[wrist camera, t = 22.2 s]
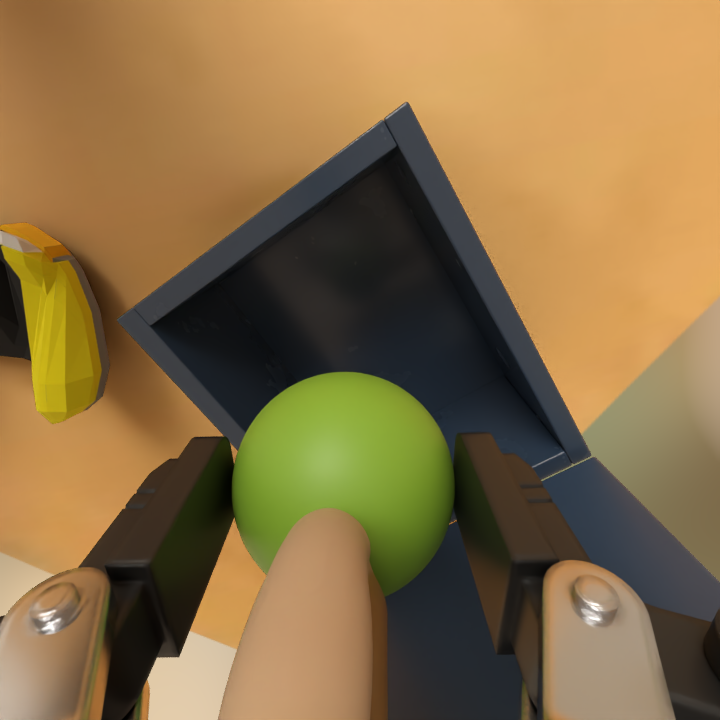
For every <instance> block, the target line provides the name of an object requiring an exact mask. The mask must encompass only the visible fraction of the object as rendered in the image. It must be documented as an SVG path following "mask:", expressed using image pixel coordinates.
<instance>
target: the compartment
mask: <svg viewBox="0 0 720 720" xmlns="http://www.w3.org/2000/svg"><path fill="white" fill-rule="evenodd" d="M117 321H118V323H119V324H120V325H121V326H122V327H123V328H124V329H125V330H126V331H127V332H128V333H129V334H130V335H131V336H132V338H133V339H134V340H135V341H136V342H137V343H138V344H139V345H140V346H141V347H142V348H143V349H144V350H145V351H146V353H147V354H148V355H149V356H150V357H151V358H152V359H153V360H154V361H155V362H156V363H157V364H158V365H159V367H160V368H161V369H162V370H163V371H164V372H165V373H166V374H167V375H168V376H169V377H170V378H171V379H172V380H173V382H174V383H175V384H176V385H177V386H178V387H179V388H180V389H181V390H182V391H183V392H184V393H185V394H186V395H187V397H188V398H189V399H190V400H191V401H192V402H193V403H194V404H195V405H196V406H197V407H198V408H199V409H200V410H201V412H202V413H203V414H204V415H205V416H206V417H207V418H208V419H209V420H210V421H211V422H212V423H213V424H214V426H215V427H216V428H217V429H218V430H219V431H220V432H221V433H222V434H223V435H224V436H226V437H227V438H228V439H229V442H230V443H231V444H232V445H233V446H234V447H235V448H236V449H237V450H239V447H240V444H241V442H242V440H243V438H244V436H245V434H246V432H247V430H248V428H249V427H250V425H251V423H252V422H253V420H254V419H255V418H256V416H257V415H258V414H259V413H260V411H261V410H262V409H263V408H264V407H265V406H266V405H267V404H268V403H269V402H270V401H271V400H272V399H273V398H275V397H276V396H277V395H278V394H280V393H281V392H282V391H284V390H285V389H287V388H289V387H290V386H292V385H294V384H296V383H298V382H300V381H302V380H305V379H307V378H310V377H313V376H317V375H321V374H326V373H333V372H357V373H363V374H368V375H372V376H376V377H379V378H382V379H384V380H387V381H389V382H391V383H393V384H395V385H397V386H399V387H400V388H402V389H403V390H405V391H406V392H408V393H409V394H411V395H412V396H413V397H414V398H415V399H416V400H418V401H419V402H420V403H421V404H422V405H423V406H424V407H425V409H426V410H427V411H428V412H429V413H430V415H431V416H432V417H433V419H434V420H435V422H436V423H437V425H438V426H439V428H440V430H441V432H442V434H443V436H444V438H445V440H446V443H447V445H448V448H449V451H450V455H451V458H452V463H453V461H454V449H455V439H456V435H457V433H469V432H489V433H491V435H492V436H493V438H494V440H495V442H496V443H497V445H498V447H499V449H500V451H501V453H515V454H516V455H517V456H519V457H520V458H521V459H522V460H524V461H525V462H526V463H527V464H529V465H530V466H531V467H532V468H533V469H534V471H535V472H536V474H537V476H538V477H539V479H540V480H541V479H544V478H546V477H548V476H550V475H552V474H554V473H556V472H559V471H560V470H563V469H565V468H567V467H569V466H571V465H572V464H575V463H577V462H580V461H582V460H584V459H586V458H588V457H590V456H591V453H590V451H589V449H588V447H587V445H586V443H585V441H584V439H583V437H582V435H581V433H580V432H579V430H578V428H577V426H576V424H575V422H574V420H573V418H572V416H571V414H570V412H569V410H568V408H567V407H566V405H565V403H564V401H563V399H562V397H561V395H560V393H559V391H558V389H557V387H556V385H555V383H554V382H553V380H552V378H551V376H550V374H549V372H548V370H547V368H546V366H545V364H544V362H543V360H542V358H541V357H540V355H539V353H538V351H537V349H536V347H535V345H534V343H533V341H532V339H531V337H530V335H529V333H528V332H527V330H526V328H525V326H524V324H523V322H522V320H521V318H520V316H519V314H518V312H517V310H516V308H515V307H514V305H513V303H512V301H511V299H510V297H509V295H508V293H507V291H506V289H505V287H504V285H503V283H502V282H501V280H500V278H499V276H498V274H497V272H496V270H495V268H494V266H493V264H492V262H491V260H490V258H489V257H488V255H487V253H486V251H485V249H484V247H483V245H482V243H481V241H480V239H479V237H478V235H477V233H476V231H475V230H474V228H473V226H472V224H471V222H470V220H469V218H468V216H467V214H466V212H465V210H464V208H463V206H462V205H461V203H460V201H459V199H458V197H457V195H456V193H455V191H454V189H453V187H452V185H451V183H450V181H449V180H448V178H447V176H446V174H445V172H444V170H443V168H442V166H441V164H440V162H439V160H438V158H437V156H436V155H435V153H434V151H433V149H432V147H431V145H430V143H429V141H428V139H427V137H426V135H425V133H424V131H423V130H422V128H421V126H420V124H419V122H418V120H417V118H416V116H415V114H414V112H413V110H412V108H411V106H410V105H409V103H408V102H405V103H403V104H402V105H401V106H400V107H398V108H397V109H396V110H394V111H393V112H392V113H390V114H389V115H388V116H386V117H385V119H384V121H383V120H381V121H379V122H378V123H377V124H375V125H374V126H373V127H371V128H370V129H369V130H367V131H366V132H365V133H363V134H362V135H361V136H359V137H358V138H357V139H355V140H354V141H353V142H352V143H350V144H349V145H348V146H346V147H345V148H344V149H342V150H341V151H340V152H338V153H337V154H336V155H334V156H333V157H332V158H330V159H329V160H328V161H326V162H325V163H324V164H322V165H321V166H320V167H318V168H317V169H316V170H314V171H313V172H312V173H310V174H309V175H308V176H306V177H305V178H304V179H302V180H301V181H300V182H298V183H297V184H296V185H294V186H293V187H292V188H290V189H289V190H288V191H286V192H285V193H284V194H282V195H281V196H280V197H278V198H277V199H276V200H275V201H273V202H272V203H271V204H269V205H268V206H267V207H265V208H264V209H263V210H261V211H260V212H259V213H257V214H256V215H255V216H253V217H252V218H251V219H249V220H248V221H247V222H245V223H244V224H243V225H241V226H240V227H239V228H237V229H236V230H235V231H233V232H232V233H231V234H229V235H228V236H227V237H225V238H224V239H223V240H221V241H220V242H219V243H217V244H216V245H215V246H213V247H212V248H211V249H209V250H208V251H207V252H205V253H204V254H203V255H201V256H200V257H199V258H197V259H196V260H195V261H194V262H192V263H191V264H190V265H188V266H187V267H186V268H184V269H183V270H182V271H180V272H179V273H178V274H176V275H175V276H174V277H172V278H171V279H170V280H168V281H167V282H166V283H164V284H163V285H162V286H160V287H159V288H158V289H156V290H155V291H154V292H152V293H151V294H150V295H148V296H147V297H146V298H144V299H143V300H142V301H140V302H139V303H138V304H136V305H135V306H134V307H133V308H131V309H130V310H128V311H127V312H126V313H124V314H123V315H122V316H121V317H119V318H118V319H117ZM455 520H457V519H456V516H455V512H454V508H453V512H452V516H451V520H450V523H451V522H453V521H455Z"/></svg>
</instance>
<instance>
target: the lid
mask: <svg viewBox="0 0 720 720" xmlns="http://www.w3.org/2000/svg"><path fill="white" fill-rule="evenodd" d="M542 484H543V488H546V490H547V491H548V493H549V495H550V496H551V498H552V502H553V503H555V504H556V506H557V507H558V509H559V511H560V512H561V514H562V515H563V517H564V518H565V520H566V522H567V523H568V525H569V526H570V528H571V530H572V531H573V533H574V534H575V536H576V538H577V539H578V541H579V542H580V544H581V545H582V547H583V549H584V550H585V552H586V553H587V555H588V557H589V558H590V560H591V561H592V563H593V564H595V565H598V566H600V567H602V568H604V569H606V570H608V571H610V572H611V573H613V574H615V575H616V576H618V577H619V578H620V579H622V580H623V581H624V582H625V583H627V584H628V585H629V586H630V587H631V588H632V589H633V590H634V591H635V592H636V593H637V595H638V596H639V597H640V599H641V600H642V601H643V602H644V603H646V604H649V605H652V606H655V607H658V608H661V609H665V610H669V611H672V612H676V613H680V614H683V615H687V616H691V617H695V618H698V619H702V620H706V621H709V622H712V621H713V619H714V617H715V615H716V613H717V611H718V609H719V608H720V582H719V581H718V580H717V579H716V578H715V577H714V576H713V575H712V574H711V573H710V572H709V571H708V570H707V569H706V568H705V567H704V566H703V565H702V564H701V563H700V562H699V561H698V560H697V559H696V558H695V557H694V556H693V555H692V554H691V553H690V552H689V551H688V550H687V549H686V548H685V547H684V546H683V545H682V544H681V543H680V542H679V541H678V540H677V539H676V538H675V537H674V536H673V535H672V534H671V533H670V532H669V531H668V530H667V529H666V528H665V527H664V526H663V525H662V524H661V523H660V522H659V521H658V520H657V519H656V518H655V517H654V516H653V515H652V514H651V513H650V512H649V511H648V510H647V509H646V508H645V507H644V506H643V505H642V504H641V503H640V502H639V501H638V500H637V499H636V498H635V496H634V495H633V494H632V493H630V491H628V490H627V489H626V487H625V486H624V485H623V484H622V483H621V482H620V481H619V480H618V479H616V477H615V476H614V475H613V474H612V473H610V471H608V469H607V468H606V467H604V465H603V464H602V463H601V462H600V461H599V460H597V458H595V457H592V458H590V459H588V460H586V461H584V462H582V463H580V464H578V465H576V466H573V467H571V468H569V469H567V470H565V471H563V472H561V473H558V474H556V475H554V476H552V477H550V478H548V479H546V480H544V481H542ZM385 600H386V605H387V613H388V619H387V678H388V720H518V711H519V690H520V683H521V679H522V674H521V671H520V668H519V665H518V662H517V659H516V656H515V655H496V652H495V649H494V645H493V642H492V638H491V635H490V632H489V628H488V625H487V621H486V618H485V615H484V611H483V608H482V604H481V601H480V598H479V594H478V591H477V587H476V584H475V581H474V577H473V574H472V570H471V567H470V564H469V560H468V557H467V553H466V550H465V546H464V543H463V540H462V536H461V533H460V529H459V526H458V523H457V522H454V523H452V524H450V525H449V527H448V530H447V532H446V535H445V537H444V539H443V541H442V543H441V545H440V547H439V549H438V550H437V552H436V554H435V555H434V557H433V558H432V559H431V561H430V562H429V563H428V565H427V566H426V567H425V568H424V569H423V570H422V571H421V572H420V573H419V574H418V575H417V576H416V577H415V578H414V579H413V580H412V581H410V582H409V583H408V584H407V585H405V586H404V587H402V588H401V589H399V590H397V591H396V592H394V593H392V594H390V595H388V596H386V597H385Z"/></svg>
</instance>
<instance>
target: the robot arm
mask: <svg viewBox="0 0 720 720" xmlns="http://www.w3.org/2000/svg"><path fill="white" fill-rule="evenodd" d="M233 469H234V462H233V456H232V451H231V445H230V442H229V439H228V438H227V437H226V436H221V437H194V438H192V439H191V440H190V442H189V443H188V445H187V446H186V447H185V449H184V450H183V452H182V453H181V455H180V456H179V458H178V459H169V460H167V461H166V462H165V463H163V464H162V465H160V466H159V467H158V468H156V469H155V470H154V471H152V472H151V473H150V474H149V475H148V477H147V478H146V479H145V480H144V482H143V483H142V484H141V486H140V487H139V488H138V490H137V494H134V495H133V496H132V498H131V499H130V500H129V502H128V503H127V504H126V508H125V509H122V511H121V512H120V513H119V515H118V516H117V517H116V519H115V520H114V521H113V523H112V524H111V525H110V526H109V528H108V529H107V530H106V532H105V533H104V534H103V536H102V537H101V538H100V540H99V541H98V542H97V544H96V545H95V546H94V548H93V549H92V550H91V551H90V553H89V554H88V555H87V557H86V558H85V559H84V561H83V562H82V563H81V565H80V566H79V567H78V568H75V569H71V570H67V571H65V572H62V573H59V574H57V575H55V576H52V577H51V578H49V579H47V580H45V581H43V582H41V583H40V584H38V585H37V586H35V587H34V588H32V589H31V590H30V591H29V592H27V593H26V594H25V595H24V596H22V598H20V599H19V600H18V601H17V602H16V603H15V604H14V606H13V607H12V608H11V609H10V610H9V611H8V613H7V614H6V615H5V616H1V617H0V720H148V711H149V697H150V690H149V684H148V680H147V678H148V676H149V674H150V671H151V669H152V667H153V665H154V662H155V660H156V658H157V657H179V656H180V653H181V651H182V649H183V646H184V643H185V641H186V638H187V636H188V633H189V631H190V628H191V626H192V623H193V621H194V618H195V616H196V613H197V610H198V608H199V605H200V603H201V600H202V598H203V595H204V593H205V590H206V588H207V585H208V583H209V580H210V577H211V575H212V572H213V570H214V567H215V565H216V562H217V560H218V557H219V555H220V552H221V550H222V547H223V544H224V542H225V539H226V537H227V534H228V532H229V529H230V527H231V524H232V522H233V519H234V511H233V505H232V476H233ZM453 469H454V477H455V498H454V506H453V508H454V512H455V516H456V519H457V523H458V526H459V529H460V533H461V536H462V540H463V543H464V546H465V550H466V553H467V557H468V560H469V564H470V567H471V570H472V574H473V577H474V581H475V584H476V587H477V591H478V594H479V598H480V601H481V604H482V608H483V611H484V615H485V618H486V621H487V625H488V628H489V632H490V635H491V638H492V642H493V645H494V649H495V652H496V655H515V656H516V659H517V662H518V665H519V668H520V671H521V674H522V679H521V683H520V690H519V711H518V720H720V608H719V609H718V611H717V613H716V615H715V617H714V619H713V621H712V622H709V621H706V620H702V619H698V618H695V617H691V616H687V615H683V614H680V613H676V612H672V611H669V610H665V609H661V608H658V607H655V606H652V605H649V604H646V603H644V602H643V601H642V600H641V599H640V597H639V596H638V595H637V593H636V592H635V591H634V590H633V589H632V588H631V587H630V586H629V585H628V584H627V583H625V582H624V581H623V580H622V579H620V578H619V577H618V576H616V575H615V574H613V573H611V572H610V571H608V570H606V569H604V568H602V567H600V566H598V565H595V564H593V563H592V561H591V560H590V558H589V557H588V555H587V553H586V552H585V550H584V549H583V547H582V545H581V544H580V542H579V541H578V539H577V538H576V536H575V534H574V533H573V531H572V530H571V528H570V526H569V525H568V523H567V522H566V520H565V518H564V517H563V515H562V514H561V512H560V511H559V509H558V507H557V506H556V504H555V503H553V502H552V498H551V496H550V495H549V493H548V491H547V490H546V488H543V484H542V482H541V480H540V479H539V477H538V476H537V474H536V472H535V471H534V469H533V468H532V467H531V466H530V465H529V464H527V463H526V462H525V461H524V460H522V459H521V458H520V457H519V456H517V455H516V454H515V453H501V451H500V449H499V447H498V445H497V443H496V442H495V440H494V438H493V436H492V435H491V433H489V432H469V433H457V435H456V439H455V449H454V461H453Z"/></svg>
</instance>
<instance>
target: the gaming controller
mask: <svg viewBox="0 0 720 720" xmlns="http://www.w3.org/2000/svg"><path fill="white" fill-rule="evenodd" d="M0 356H9V357H18V358H25V359H28V360H30V361H31V362H32V383H33V390H34V397H35V405H36V410H37V411H38V412H39V413H40V414H42V415H43V416H44V417H45V418H46V419H47V420H48V421H49V422H50V423H52V424H55V423H59V422H62V421H65V420H66V419H68V418H70V417H72V416H74V415H76V414H78V413H81V412H83V411H85V410H87V409H89V408H90V407H91V406H92V405H93V404H94V403H96V402H97V401H98V400H99V399H100V398H101V397H102V396H103V393H104V389H105V385H106V380H107V376H108V372H109V367H110V362H109V357H108V351H107V346H106V340H105V335H104V329H103V324H102V318H101V313H100V308H99V306H98V304H97V301H96V299H95V297H94V294H93V292H92V289H91V287H90V285H89V282H88V280H87V278H86V275H85V273H84V271H83V269H82V267H81V266H80V264H79V263H78V261H77V260H76V258H74V256H73V255H72V253H71V252H70V251H69V250H67V249H66V248H65V247H64V246H63V245H62V244H61V243H59V242H58V241H56V240H55V239H53V238H52V237H50V236H49V235H47V234H46V233H44V232H43V231H41V230H40V229H38V228H37V227H35V226H33V225H30V224H28V223H16V224H5V225H0Z"/></svg>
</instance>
